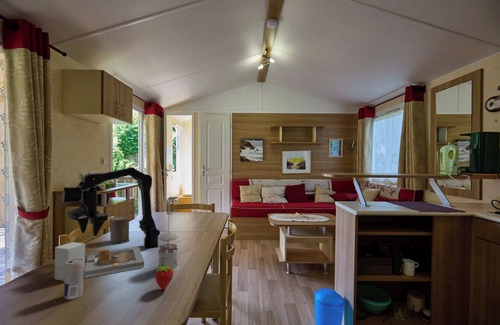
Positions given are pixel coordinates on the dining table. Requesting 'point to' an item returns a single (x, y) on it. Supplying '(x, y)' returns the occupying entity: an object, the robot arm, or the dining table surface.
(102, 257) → the dial
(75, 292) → the energy drink
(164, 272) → the strawberry
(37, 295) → the dining table surface
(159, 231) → the robot arm
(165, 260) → the french press
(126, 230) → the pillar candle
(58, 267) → the supplement box
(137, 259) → the dial plate
